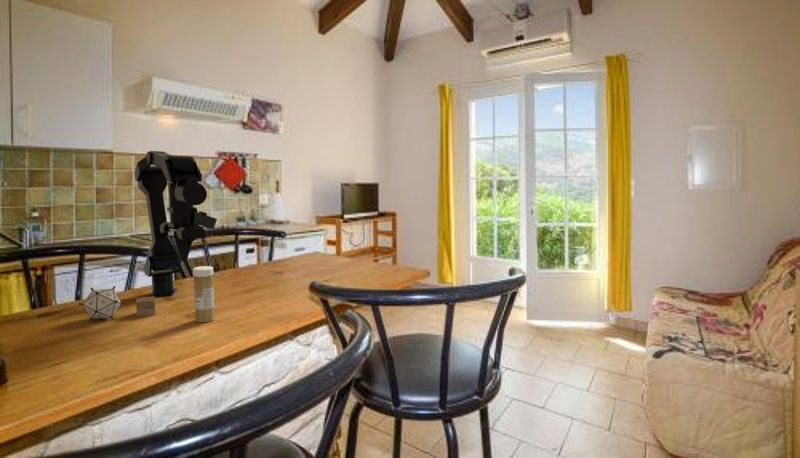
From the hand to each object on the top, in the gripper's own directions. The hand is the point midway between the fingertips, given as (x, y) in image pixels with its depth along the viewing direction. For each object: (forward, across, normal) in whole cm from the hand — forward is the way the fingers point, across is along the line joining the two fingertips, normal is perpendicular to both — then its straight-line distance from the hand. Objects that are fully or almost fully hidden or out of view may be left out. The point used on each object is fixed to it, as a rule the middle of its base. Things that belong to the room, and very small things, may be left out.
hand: (184, 261), depth 111 cm
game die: (+13, +5, +18) cm, 23 cm away
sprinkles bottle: (+13, -13, 0) cm, 19 cm away
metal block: (+13, +2, +9) cm, 16 cm away
